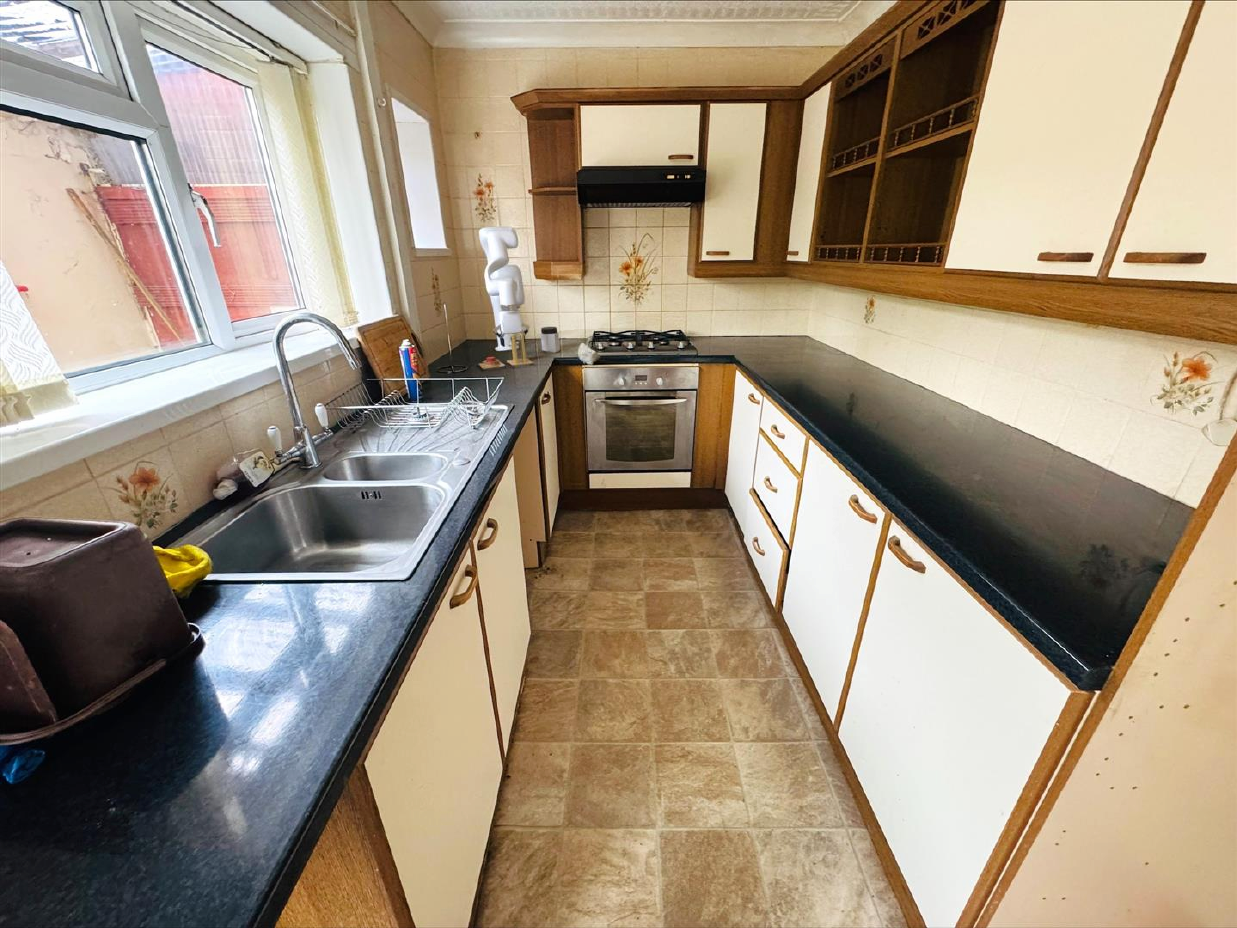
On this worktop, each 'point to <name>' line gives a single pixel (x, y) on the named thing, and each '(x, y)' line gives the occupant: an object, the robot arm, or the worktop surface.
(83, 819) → the worktop surface
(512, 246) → the robot arm
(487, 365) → the switch block
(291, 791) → the worktop surface
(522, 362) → the light wood peg stand
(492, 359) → the button
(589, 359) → the grey rock
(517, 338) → the switch lever
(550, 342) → the jar
